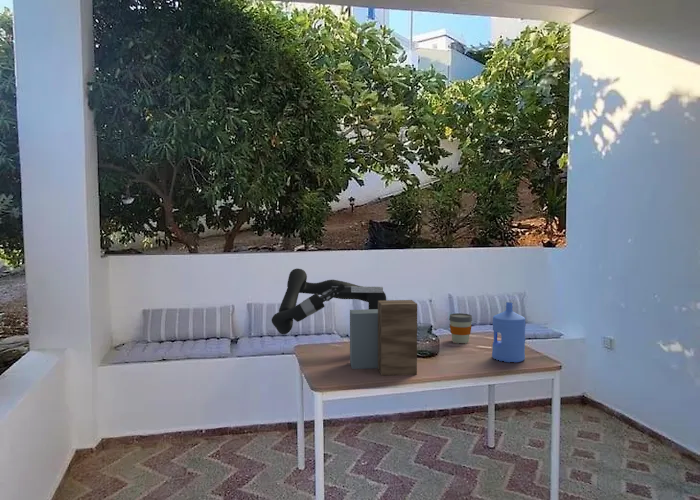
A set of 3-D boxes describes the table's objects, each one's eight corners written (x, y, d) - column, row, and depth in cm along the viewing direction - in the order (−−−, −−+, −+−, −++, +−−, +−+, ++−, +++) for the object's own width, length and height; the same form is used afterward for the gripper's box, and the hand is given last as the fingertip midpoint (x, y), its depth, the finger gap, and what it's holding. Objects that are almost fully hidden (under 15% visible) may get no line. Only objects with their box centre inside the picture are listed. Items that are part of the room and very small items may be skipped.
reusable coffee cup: (451, 344, 289) (452, 317, 288) (446, 339, 301) (447, 313, 300) (474, 344, 289) (474, 317, 288) (468, 338, 302) (468, 313, 300)
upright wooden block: (377, 368, 245) (377, 300, 242) (411, 367, 246) (411, 299, 244) (381, 375, 234) (381, 304, 231) (416, 374, 235) (417, 304, 233)
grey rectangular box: (349, 362, 254) (349, 309, 252) (390, 361, 256) (390, 308, 254) (352, 369, 244) (351, 313, 242) (394, 367, 246) (394, 312, 244)
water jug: (526, 356, 264) (527, 301, 263) (522, 364, 250) (523, 306, 248) (494, 353, 271) (495, 299, 269) (489, 360, 257) (490, 304, 255)
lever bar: (331, 291, 247) (331, 286, 247) (381, 291, 249) (381, 286, 249) (331, 292, 244) (332, 287, 244) (382, 292, 246) (383, 287, 246)
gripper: (315, 308, 252) (346, 290, 253) (317, 314, 238) (349, 294, 239) (307, 295, 251) (338, 277, 252) (308, 300, 237) (341, 280, 238)
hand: (343, 285), depth 246 cm, fingers closed on lever bar, 3 cm apart
